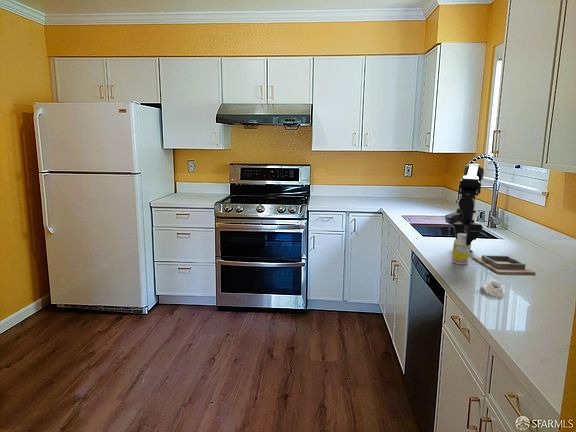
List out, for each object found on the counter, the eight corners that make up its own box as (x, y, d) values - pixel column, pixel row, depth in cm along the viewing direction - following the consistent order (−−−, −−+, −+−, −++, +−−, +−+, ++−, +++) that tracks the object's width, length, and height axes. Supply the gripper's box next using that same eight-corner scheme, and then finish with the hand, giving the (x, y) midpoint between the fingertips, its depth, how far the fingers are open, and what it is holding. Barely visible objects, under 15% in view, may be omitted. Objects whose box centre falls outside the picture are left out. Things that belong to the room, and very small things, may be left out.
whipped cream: (494, 291, 144) (496, 278, 144) (509, 297, 138) (511, 283, 138) (476, 291, 142) (478, 278, 142) (491, 297, 136) (492, 283, 135)
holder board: (472, 258, 181) (473, 252, 180) (506, 259, 182) (507, 253, 181) (497, 273, 161) (498, 266, 161) (535, 274, 162) (536, 267, 162)
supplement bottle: (454, 259, 179) (457, 231, 176) (469, 262, 175) (473, 234, 172) (449, 262, 174) (452, 234, 171) (465, 266, 170) (469, 237, 167)
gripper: (439, 202, 178) (435, 236, 181) (459, 210, 160) (454, 248, 163) (463, 203, 179) (458, 237, 182) (485, 211, 161) (480, 248, 164)
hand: (462, 242), depth 173 cm, fingers open, 9 cm apart
